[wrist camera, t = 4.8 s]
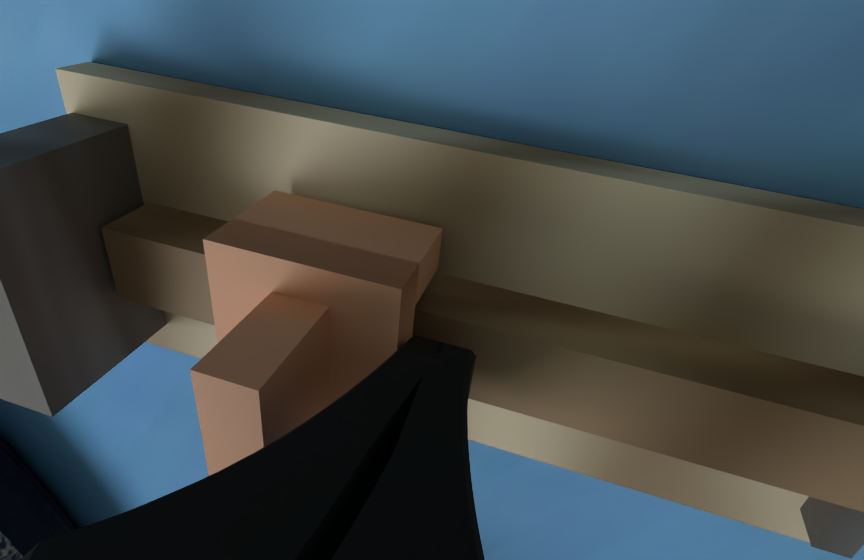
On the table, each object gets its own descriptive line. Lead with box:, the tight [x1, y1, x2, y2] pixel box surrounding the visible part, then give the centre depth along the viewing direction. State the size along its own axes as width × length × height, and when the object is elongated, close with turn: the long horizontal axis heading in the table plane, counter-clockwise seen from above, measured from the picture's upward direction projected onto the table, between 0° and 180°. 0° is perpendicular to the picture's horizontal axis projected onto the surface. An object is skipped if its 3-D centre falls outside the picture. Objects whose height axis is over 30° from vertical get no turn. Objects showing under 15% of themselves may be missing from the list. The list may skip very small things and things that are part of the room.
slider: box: [190, 190, 443, 476], centre depth 11 cm, size 4×5×5 cm
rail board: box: [0, 62, 864, 558], centre depth 12 cm, size 20×8×5 cm, turn 84°
